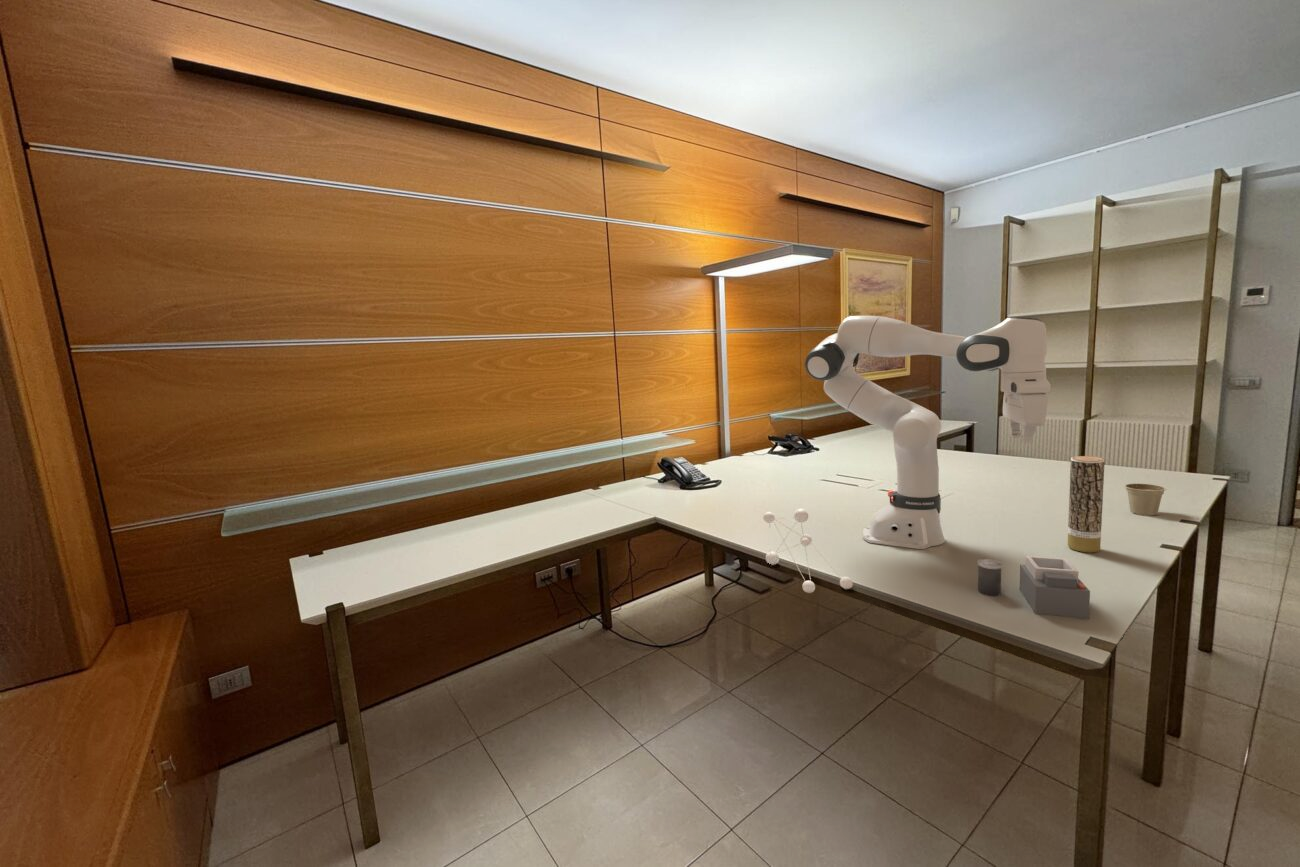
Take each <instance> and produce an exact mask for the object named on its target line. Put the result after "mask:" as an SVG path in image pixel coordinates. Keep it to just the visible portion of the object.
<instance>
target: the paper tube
mask: <svg viewBox="0 0 1300 867" xmlns="http://www.w3.org/2000/svg"><path fill="white" fill-rule="evenodd" d="M1105 462H1106V461H1105V459H1104V458H1103V457H1099V456H1090V455H1089V456H1087V455H1078V456H1077V455H1076V456H1075V455H1074V456H1071V457H1070V465H1069V466H1070V468H1069V469H1070V471H1069V472H1070V474H1069V494H1068V518H1067V519H1068V522H1067V547H1068V548H1070V549H1072V550H1074V551H1077V552H1082V553H1091V554H1092V553H1097V552H1099V551H1100V550H1101V541H1102V522H1103V501H1104V485H1105V484H1104V482H1105V479H1104V478H1105Z"/></svg>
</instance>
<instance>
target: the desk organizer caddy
mask: <svg viewBox="0 0 1300 867" xmlns="http://www.w3.org/2000/svg"><path fill="white" fill-rule="evenodd" d="M1018 586H1019V591H1020V592H1021V594H1022V596H1023V597H1024V599H1025V600H1026V601H1027V603H1028V604H1029V606H1030V607H1031V610H1032V611H1033V612H1034V614H1038V615H1048V616H1056V617H1067V618H1077V619H1083V620H1085V619H1086V620H1090V601H1091V599H1090V598H1091V590H1090V589H1088V587H1087V586H1086V585H1085V584H1084V583H1083V582H1082V581H1081V580H1080V579H1079V571H1078V569H1077V568H1076V567H1075V566H1074V565H1073V564H1072V563H1071V562H1070V561H1069V560H1068V559H1067V558H1065V557H1051V556H1038V555H1037V556H1034V555H1025V564H1020V565H1019V585H1018Z"/></svg>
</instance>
